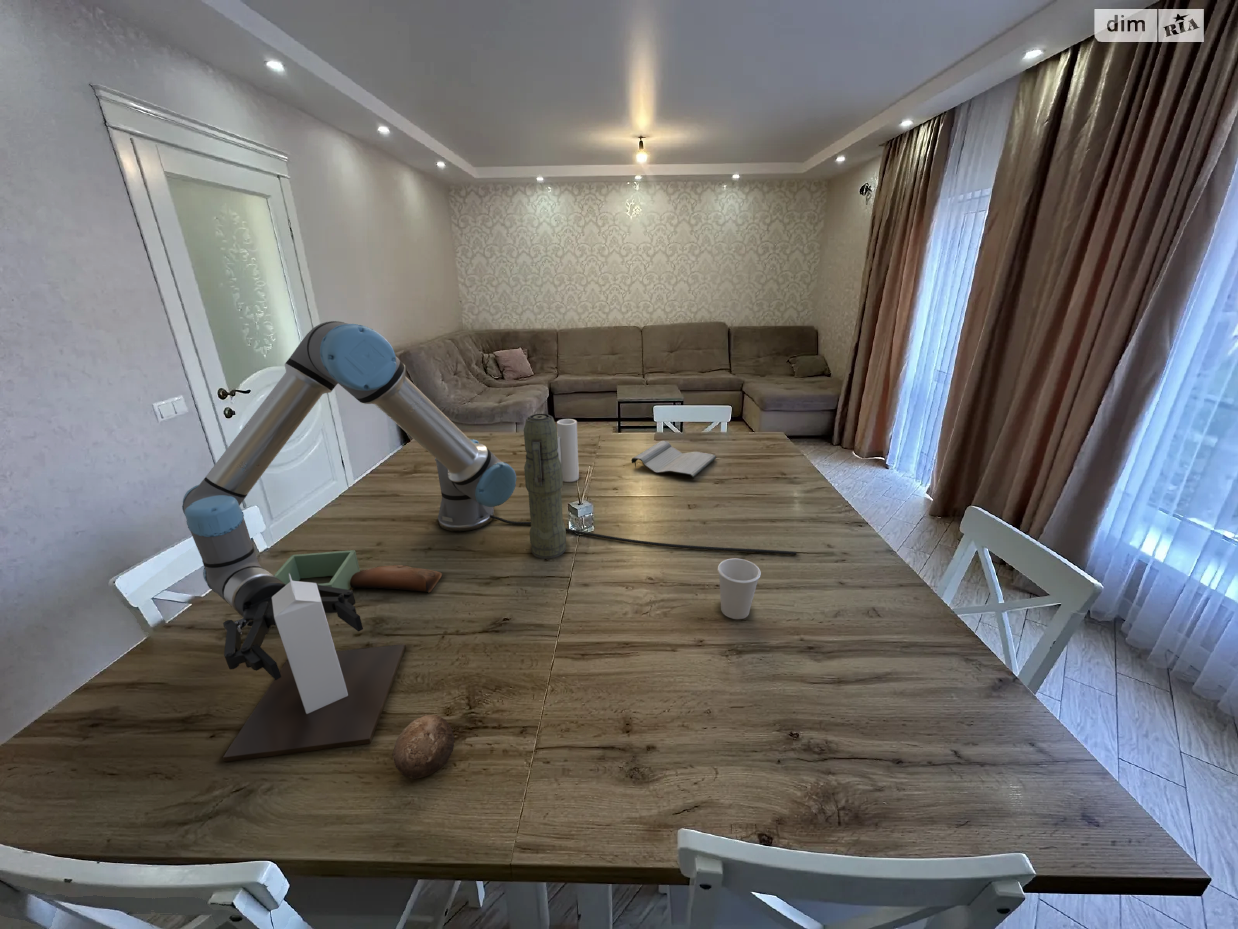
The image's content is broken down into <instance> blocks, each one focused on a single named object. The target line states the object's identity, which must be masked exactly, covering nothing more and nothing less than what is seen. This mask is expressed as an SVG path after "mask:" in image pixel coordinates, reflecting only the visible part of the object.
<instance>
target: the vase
mask: <svg viewBox="0 0 1238 929" xmlns="http://www.w3.org/2000/svg"><path fill="white" fill-rule="evenodd" d="M556 427H557V437H558V449H557V452H558V454H559V459H560V462H561V464H562V480H563V482H566V483H572V482H576V481H578V480H579V479H580V471H579V470H580V469H579V466H580V465H579V445H578V421H577V420H576V419H574V418H562V419H558V420H557V421H556Z"/></svg>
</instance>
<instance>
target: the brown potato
mask: <svg viewBox="0 0 1238 929" xmlns="http://www.w3.org/2000/svg"><path fill="white" fill-rule="evenodd" d="M454 745H455V735H454V731H453V728H452V726H451V725H450V723H449V722H448V721H447V720H446V719H445V718H443V717H442V716H440V715H438V714H425V715H423V716H422V715H421V716H420V717H418V718H415V719H413V720H412V721H411V722H410V723H408V725H407V726H406V727H404V728H403V729H402V731H401V732H400V734H399V735H398V737H397V739H396V740H395V743H394V748H393V751H392V758H393V762H394V766H395V768H396V769H397V770H398V771H399V773H401V775H402V776H405V777H407V778H410V779H414V780H415V779H420V778H426V777H428V776H430V775H432V774H434V773H435V772H437V771H438V770H440V769H441V768H442V767H444V765H446V764H447V762H448V760H450V757H451V755H452V754H453V751H454Z"/></svg>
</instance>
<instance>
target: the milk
mask: <svg viewBox="0 0 1238 929" xmlns="http://www.w3.org/2000/svg"><path fill="white" fill-rule="evenodd" d="M289 577H290V582H289V583H288V584H287V585H286V586H285V587H283V588H282V589H281V590H280V591H279V592H277V593H276V594H275V595H274V596H273V597H272V604H273V612H274V619H275V622H276V625H275V626H276V628H277V631H278V633H279V636H280V639H281V642H282V645H283V648H284V651H285V654H286V658H287V660H288V661H289V664H290V667H291V669H292V672H293V675H294V678H295V681H296V684H297V687H298V690H299V693H300V696H301V699H302V702H303V705H304V708H305V711H306V714H308V713H311V712H313V711H315V710H317V709H320V708H322V707H324V706H326V705H329V704H331V703H333V702H335V701H338V700H340V699H342V698H344V697H347V696H348V693H347V689H346V685H345V682H344V678H343V675H342V671H341V668H340V664H339V661H338V657H337V654H336V651H337V650H336V647H335V643H334V640H333V636H332V633H331V628H330V625H329V623H328V619H327V615H326V613H325V612H324V608H323V605H322V601H321V598H320V594H319V591H318V587H317V584H318V583H317V582H315V583H310V582H311V581H300V580H299V581H292V579H291V576H290V573H289ZM316 583H317V584H316Z"/></svg>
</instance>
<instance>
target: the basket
mask: <svg viewBox="0 0 1238 929" xmlns="http://www.w3.org/2000/svg"><path fill="white" fill-rule="evenodd" d="M360 571H361V569H360V564H359V560H358V556H357V552H356V550H355V549H352V550H351V549H349V550H335V551H326V552H313V553H298V554H291V555H290V557H289V558H288V559H287V560H286V561H284V563H283V564H282V565H281V566H280V568H279V569H278V570H277V571H276V572H275V573H274V574H273V575H274V576H275V577H276V578H278V579H279V580H280V581H282V582H283V583H284V584H286V585H287V584H288V583H289V582H290V577H289V573H290V576H291V579H292V581H300V580H301V579H311V578H322V577H323V578H325V577H332V578H331V580H330V581H329V582H324V583H317V584H318V585H322V586H328V587H335V588H341V589H347V590H351V588H352V587H351V585H350V581H351V578H352V576H353V575H354V574H355V573H357V572H360Z"/></svg>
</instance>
